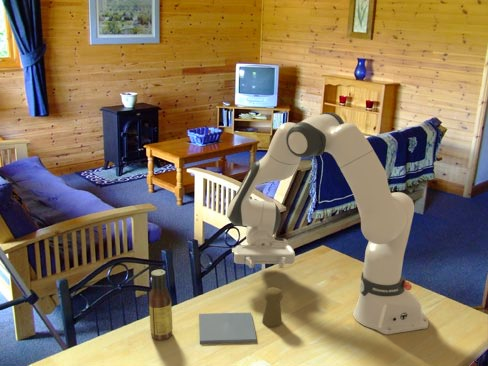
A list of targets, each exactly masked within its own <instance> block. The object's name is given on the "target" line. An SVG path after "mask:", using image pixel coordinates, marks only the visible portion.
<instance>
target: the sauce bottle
mask: <svg viewBox="0 0 488 366" xmlns="http://www.w3.org/2000/svg"><path fill="white" fill-rule="evenodd" d="M166 273H167V272H166V271H165V270H164V269H155V270H152V271H151V273H150V276H151V280H152V281H151V283H152V285H151V286H152V287H151V290H150V291H149V294H148V311H149V324H150V325H149V328H150V335H151V337H152V338H153V339H155V340H158V341H163V340H167V339H169V338H171V336H172V335H173V311H172V296H171V294H170V291H169V289H168V286H167V283H166V277H167V274H166Z"/></svg>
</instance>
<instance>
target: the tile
mask: <svg viewBox="0 0 488 366" xmlns="http://www.w3.org/2000/svg"><path fill="white" fill-rule="evenodd" d="M198 329H199V332H198V333H199V345H201V344H202V345H205V344H206V345H207V344H233V343H235V344H237V343H238V344H239V343H257V335H256V331H255V325H254V320H253V315H252V312H216V313H212V312H211V313H199V314H198Z"/></svg>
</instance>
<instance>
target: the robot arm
mask: <svg viewBox="0 0 488 366" xmlns="http://www.w3.org/2000/svg"><path fill="white" fill-rule="evenodd" d="M324 153H328V154H330V155H331V156H332V157H333V159H334V160H335V162H336V164H337V166H338V167H339V169H340V172H341V173H342V176H343V177H344V178H345V180H346V182H347V184H348V186H349V187H350V190H351V192H352V195H353V197H354V200H355V204H356V207H357V209H358V214H359V216H360V230H361V232H362V235H363V236H364V238H365V239H366V240H367V241H368V243H367V245H366V249H365V254H364V261H363V262H364V263H363V270H362V272H361V277H360V282H359V296H358V300H357V303H356V306H355V308H354V310H353V312H352V314H353V317H354V319H355V320H356V321H357V322H358V323H360V324H361V325H363V326H365V327H367V328H369V329H373V330H376V331H378V332H379V333H381V334H384V335H392V334H398V333H400V334H401V333H405V332H411V331H417V330H424V329H425V330H426V329H427V328H429V318H428V317H427V315H426V313H425V312H424V311H423V310H422V306H421V303H420V301H419V300H418V298H417V297H416V295H414V294H413V293H412V292H411V291H410V290H411V289H412V287H413V286H412V284H411V283H410V282H409V281H407V280H406V278H405V277H404V276H402V269H403V263H404V256H405V251H406V249H407V244H408V240H409V236H410V233H411V228H412V222H413V218H414V215H415V214H414V213H415V204H414V201H413V199H412V198H411V197H410V196H409V195H407V194H406V193H404V192H400V191H397V192H395V191H394V192H391V189H390V186H389V182H388V174H387V172H386V170H385V168H384V166H383V164H382V162H381V161H380V159H379V157H378V155H377V154H376V152H375V150H374V148H373V147H372V145H371V144H370V142H369V140H368V139H367V137H366V136H365V135H364V134H363V132H362V131H361V130H360V129H359V127H358V126H357V125H355V124H353V123H351V122H346V123H345V122H344V119H343V117H341V116H340V115H339V114H337V113H334V112H323V113H320V114H318V115H314V116H309V117H308V118H305V119H303V120H301V121H300V122H290V121H289V122H284V123H282V124H280V125H279V126H278V128H276V131H275V133H274V135H273V136H272V139H271V141H270V144H269V147H268V149H267V152H266V154H265V155H264V156H263V157H262V158H261V159H259V160H257V161H254V162H253V163H252V164H251V166H250V167H249V169H248V170H247V173H246V175H245V176H244V178H243V180H242V182H241V184H240V186H239V188H238V189H237V192H236V194H235V195H234V196H233V198H231V200H230V203H229V204H228V207H227V210H226V211H227V215H226V217H227V219H228V221H230V222H231V224H233V225H234V226H240V227H242V226H243V227H246V229H245V238H246V243H247V245H246V244H243V245H241V244H240V245H236V246H235V247H231V253H232V254H233V263H235V264H238V265H246V266H248V267H249V268H250V269H255V268H256V267H255V265H256V264H257V265H259V264H260V265H267V264H268V265H272V264H273V265H275V264H277V265H278V268H280V269H284V267H285V264H286V265H289V264H290V265H292V264H294V263H295V261H296V254H295V251H294V248H293V246H291V244H289V243H288V240H287V239H286V238H283V237H278V236H274V235H275V234H276V233H277V231H278V230H279V228H280V225H281V218H282V217H281V216H282V215H281V211H280V208H279V206H278V204H277V203H275V202H271V201H265V200H259V199H258V200H257V199H253V198H250V197H251V196H252V194H253V193H254V190H255V188H256V187H257V186H259V185H261V184H265V183H269V182H280V181H284V180H287V179H289V178H291V177H292V176H294V174H295V173H296V172H297V170H298V168H299V165H300V163H301V161H302V160H301V159H302V158H310V157H311V158H312V157H316V156H322V155H323V154H324Z"/></svg>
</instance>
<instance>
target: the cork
mask: <svg viewBox="0 0 488 366" xmlns="http://www.w3.org/2000/svg"><path fill="white" fill-rule="evenodd" d="M264 298H265V305H264V309H263V316H262V320H261V323H262V325H264V326H265V327H267V328H273V329H274V328H275V329H276V328H278V327H280V326H282V324H283V319H282V318H283V317H282V308H281V307H282V306H281V300H282V298H283V292H282V290H281V289H280V288H278V287H275V286H274V287H268V288H266V290H265V292H264Z"/></svg>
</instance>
